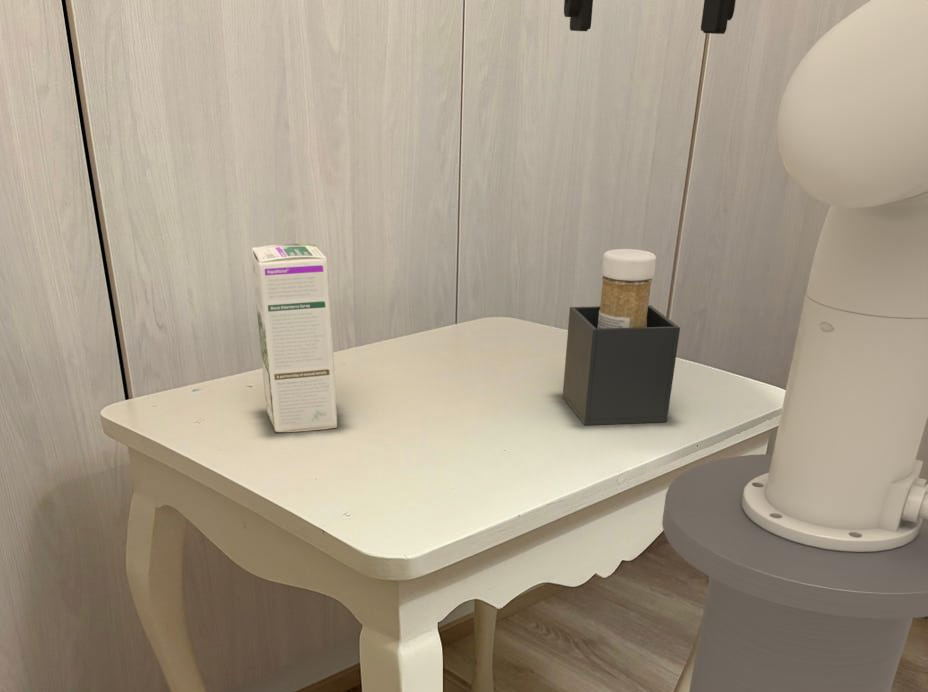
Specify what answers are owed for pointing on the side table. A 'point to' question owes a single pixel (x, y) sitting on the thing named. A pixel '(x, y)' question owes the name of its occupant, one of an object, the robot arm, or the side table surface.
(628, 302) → the sprinkles bottle
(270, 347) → the syrup box
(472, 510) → the side table surface
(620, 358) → the dark grey open box
